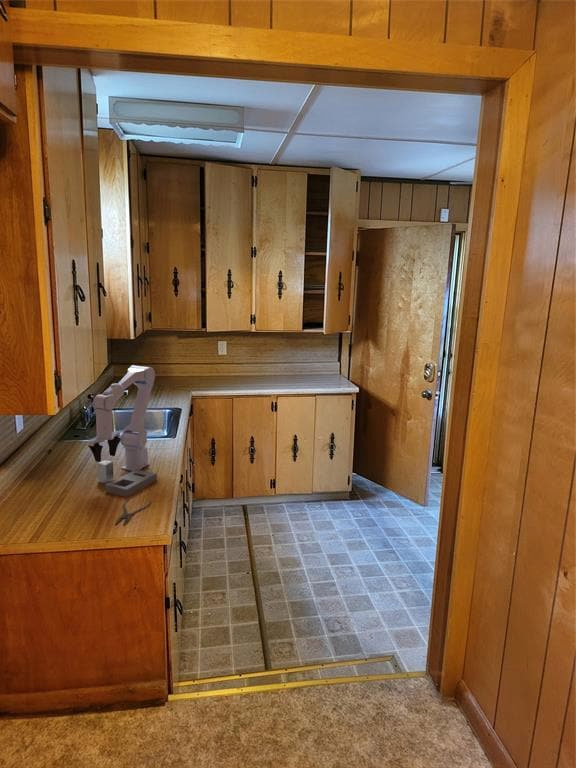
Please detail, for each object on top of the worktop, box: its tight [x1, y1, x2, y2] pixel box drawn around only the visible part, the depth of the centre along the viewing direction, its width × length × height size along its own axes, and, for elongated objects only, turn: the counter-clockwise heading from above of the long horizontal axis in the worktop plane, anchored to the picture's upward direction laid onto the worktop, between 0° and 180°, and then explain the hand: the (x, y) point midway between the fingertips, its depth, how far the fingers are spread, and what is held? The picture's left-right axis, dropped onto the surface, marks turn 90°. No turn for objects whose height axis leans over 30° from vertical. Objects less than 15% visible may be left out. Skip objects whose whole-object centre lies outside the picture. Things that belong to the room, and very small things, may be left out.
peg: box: [97, 459, 115, 485], centre depth 192 cm, size 4×4×8 cm
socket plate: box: [104, 469, 158, 498], centre depth 189 cm, size 18×10×3 cm, turn 158°
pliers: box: [114, 498, 153, 527], centre depth 169 cm, size 10×1×20 cm
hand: (105, 458), depth 190 cm, fingers open, 7 cm apart
